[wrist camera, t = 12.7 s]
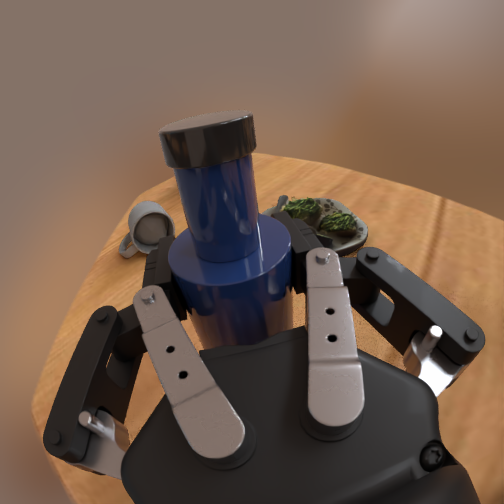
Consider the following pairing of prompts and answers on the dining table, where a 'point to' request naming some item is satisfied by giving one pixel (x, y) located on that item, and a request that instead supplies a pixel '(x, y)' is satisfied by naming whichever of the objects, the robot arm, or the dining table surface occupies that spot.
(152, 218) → the ceramic mug
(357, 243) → the salad plate
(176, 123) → the soy bottle
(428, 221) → the dining table surface
